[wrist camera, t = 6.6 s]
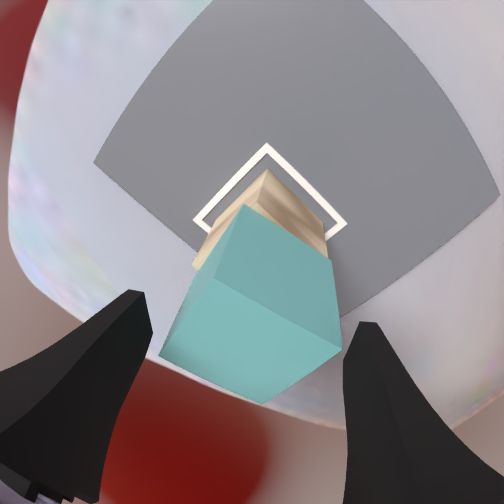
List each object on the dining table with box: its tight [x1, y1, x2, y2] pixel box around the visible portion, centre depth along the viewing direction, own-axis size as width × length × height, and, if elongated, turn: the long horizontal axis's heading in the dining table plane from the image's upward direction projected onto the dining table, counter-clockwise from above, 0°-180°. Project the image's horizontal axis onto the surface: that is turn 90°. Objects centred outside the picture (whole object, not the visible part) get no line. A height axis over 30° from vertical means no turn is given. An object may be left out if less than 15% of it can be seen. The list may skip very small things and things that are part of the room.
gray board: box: [93, 0, 500, 318], centre depth 16 cm, size 20×18×1 cm
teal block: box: [159, 204, 343, 404], centre depth 11 cm, size 4×4×5 cm
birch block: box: [192, 169, 328, 271], centre depth 16 cm, size 4×4×5 cm
